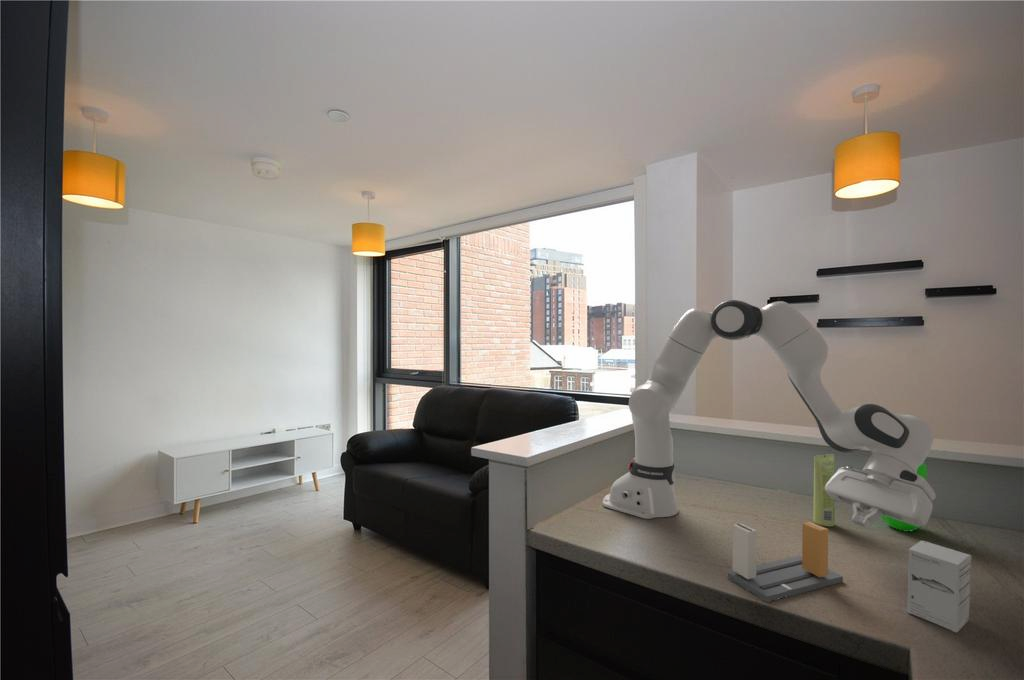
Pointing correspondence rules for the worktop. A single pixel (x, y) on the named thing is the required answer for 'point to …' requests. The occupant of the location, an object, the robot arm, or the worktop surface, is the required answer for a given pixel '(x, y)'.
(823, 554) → the fader orange
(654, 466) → the robot arm
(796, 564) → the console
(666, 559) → the worktop surface
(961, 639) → the worktop surface
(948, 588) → the supplement box
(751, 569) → the fader white
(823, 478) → the tube
